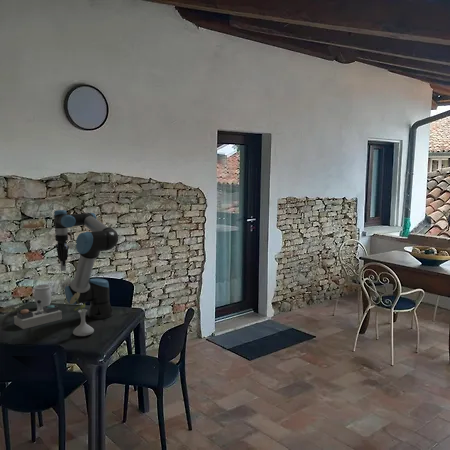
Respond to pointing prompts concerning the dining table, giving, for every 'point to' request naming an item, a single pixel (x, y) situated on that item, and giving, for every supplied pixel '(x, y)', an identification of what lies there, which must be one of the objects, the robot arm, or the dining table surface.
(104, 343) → the dining table surface
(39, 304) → the toggle lever
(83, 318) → the flower in vase
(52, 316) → the console
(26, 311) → the terracotta button
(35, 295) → the jar
